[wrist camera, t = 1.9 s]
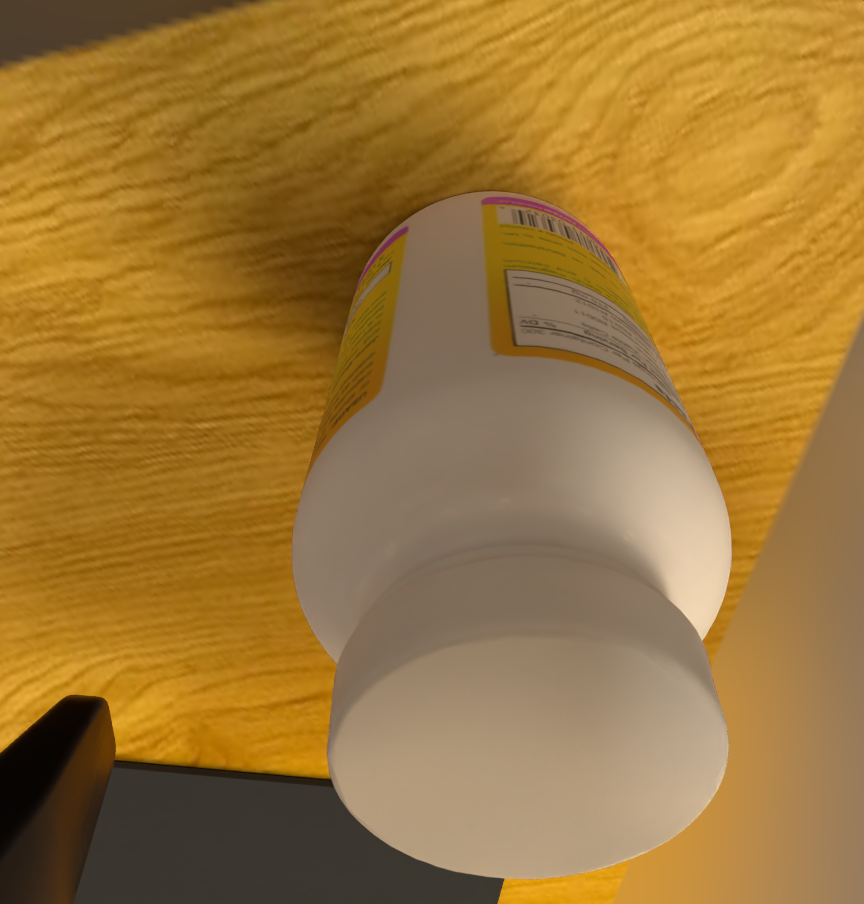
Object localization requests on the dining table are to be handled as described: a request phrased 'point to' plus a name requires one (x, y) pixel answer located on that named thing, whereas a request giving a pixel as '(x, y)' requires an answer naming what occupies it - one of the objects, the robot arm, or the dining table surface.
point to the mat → (250, 846)
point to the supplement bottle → (512, 553)
